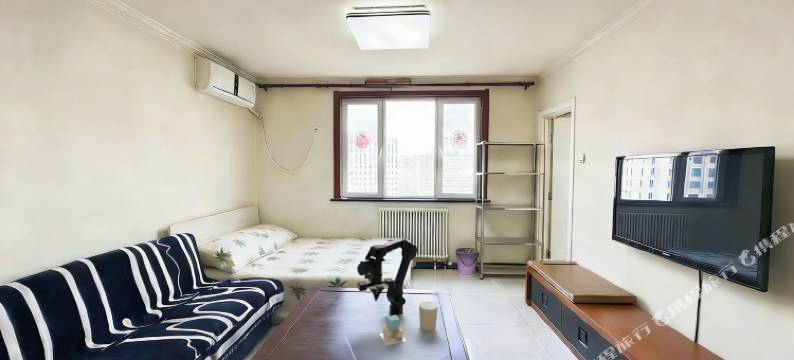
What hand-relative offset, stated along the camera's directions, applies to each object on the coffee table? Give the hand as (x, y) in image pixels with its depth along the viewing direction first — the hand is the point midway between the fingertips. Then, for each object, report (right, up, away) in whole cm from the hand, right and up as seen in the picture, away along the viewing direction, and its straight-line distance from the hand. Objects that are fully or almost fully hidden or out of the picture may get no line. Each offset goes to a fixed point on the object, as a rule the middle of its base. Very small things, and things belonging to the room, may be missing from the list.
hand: (375, 300), depth 164 cm
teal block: (+9, -8, -14) cm, 18 cm away
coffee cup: (+26, -13, -4) cm, 30 cm away
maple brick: (+9, -12, -14) cm, 20 cm away
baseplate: (+9, -13, -14) cm, 21 cm away
